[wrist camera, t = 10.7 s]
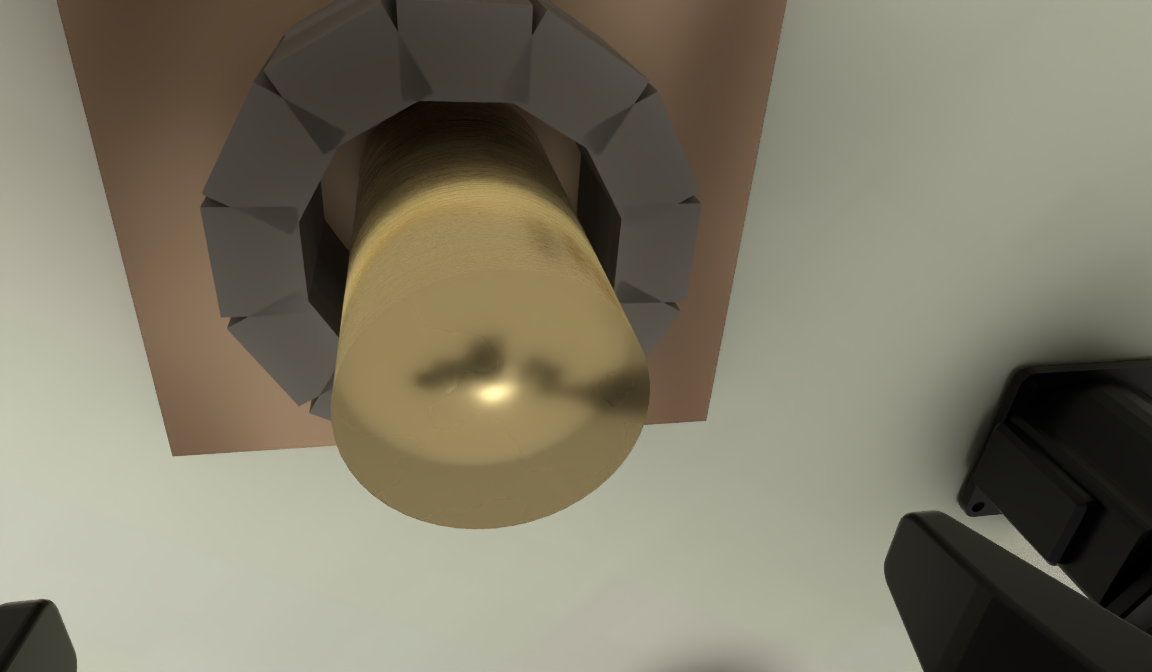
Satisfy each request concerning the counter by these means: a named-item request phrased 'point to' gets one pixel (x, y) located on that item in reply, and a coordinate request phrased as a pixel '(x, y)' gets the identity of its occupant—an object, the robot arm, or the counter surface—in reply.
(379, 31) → the ring socket
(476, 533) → the counter surface
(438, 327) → the brass pin
